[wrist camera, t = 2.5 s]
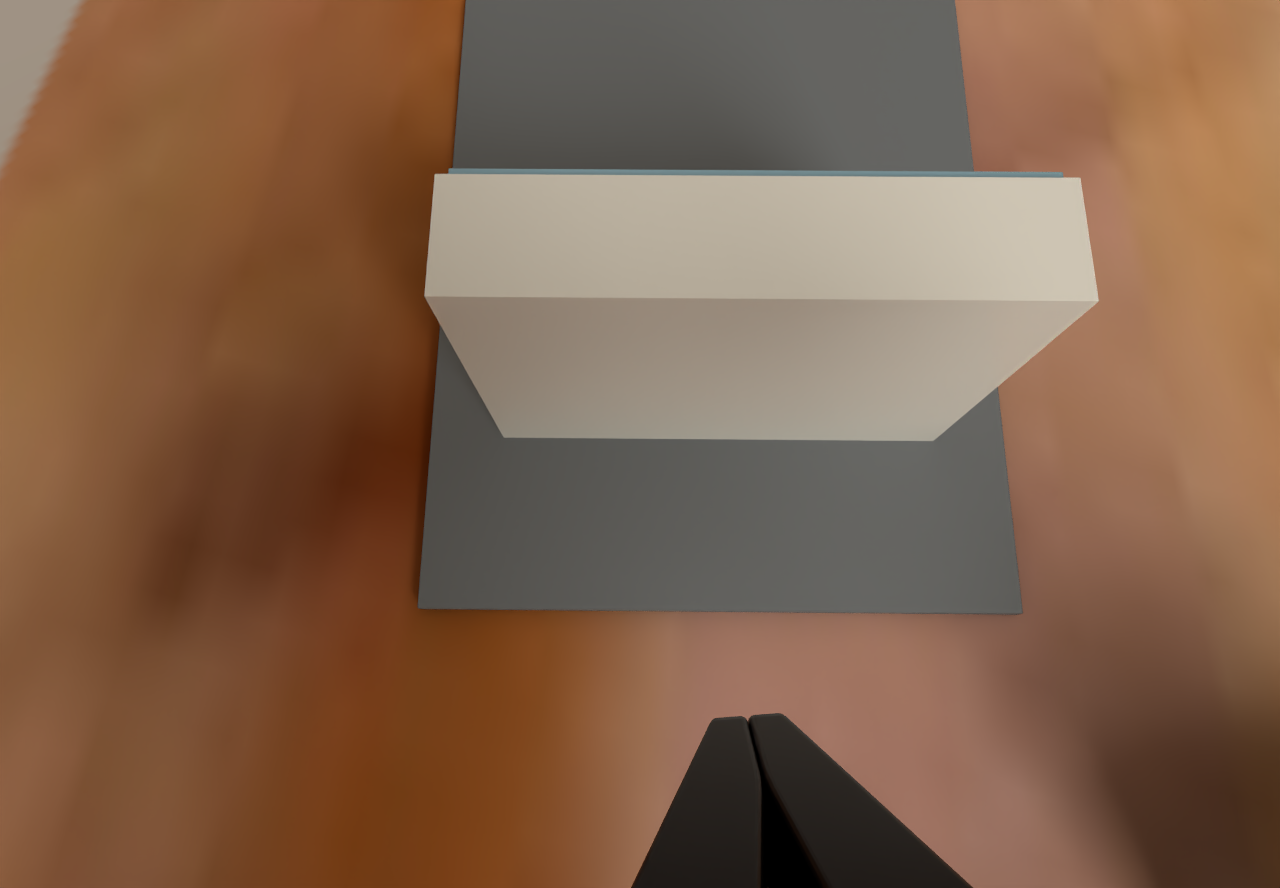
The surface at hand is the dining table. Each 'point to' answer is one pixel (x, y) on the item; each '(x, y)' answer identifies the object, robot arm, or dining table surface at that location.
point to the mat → (713, 468)
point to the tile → (751, 296)
